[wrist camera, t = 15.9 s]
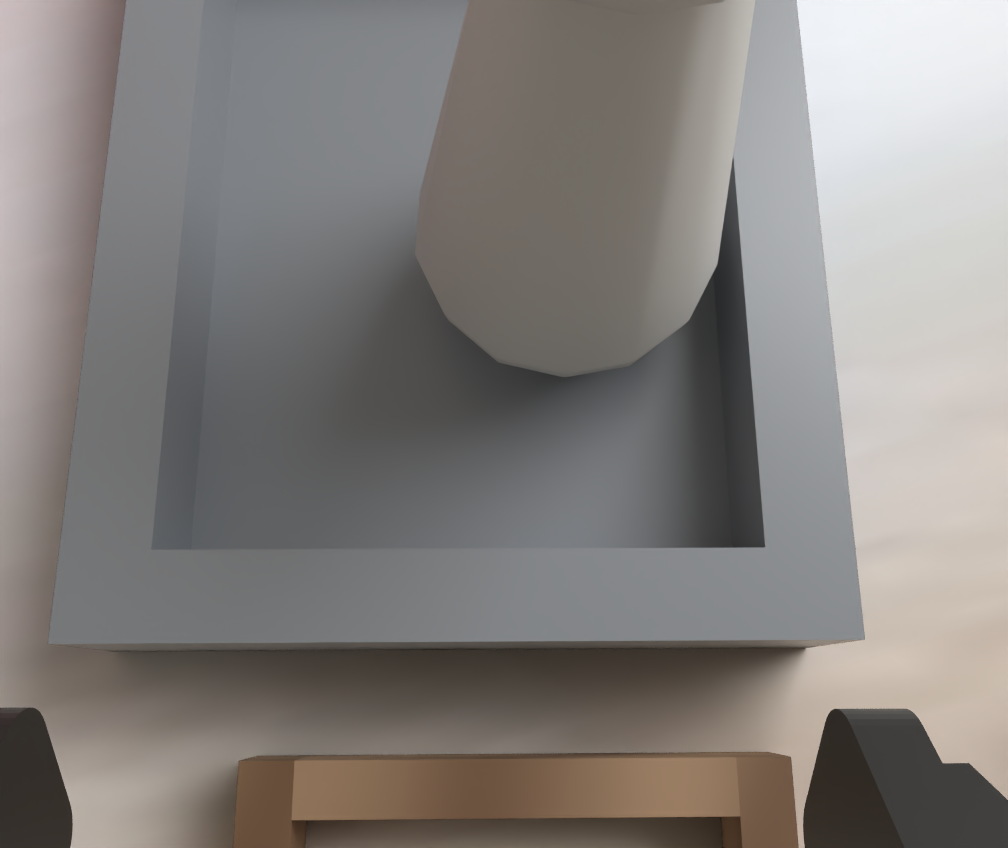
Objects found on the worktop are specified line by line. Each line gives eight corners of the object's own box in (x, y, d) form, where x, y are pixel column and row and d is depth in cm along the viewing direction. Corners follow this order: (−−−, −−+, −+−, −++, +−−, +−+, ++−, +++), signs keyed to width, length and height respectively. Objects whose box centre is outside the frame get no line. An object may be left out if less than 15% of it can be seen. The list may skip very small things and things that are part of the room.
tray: (742, -78, 24) (777, -182, 21) (808, 648, 19) (865, 639, 16) (189, -82, 24) (149, -189, 21) (114, 651, 19) (47, 643, 16)
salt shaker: (531, 464, 19) (609, 45, 7) (370, 258, 21) (188, -415, 8) (746, 305, 20) (1154, -310, 8) (581, 118, 22) (709, -671, 9)
